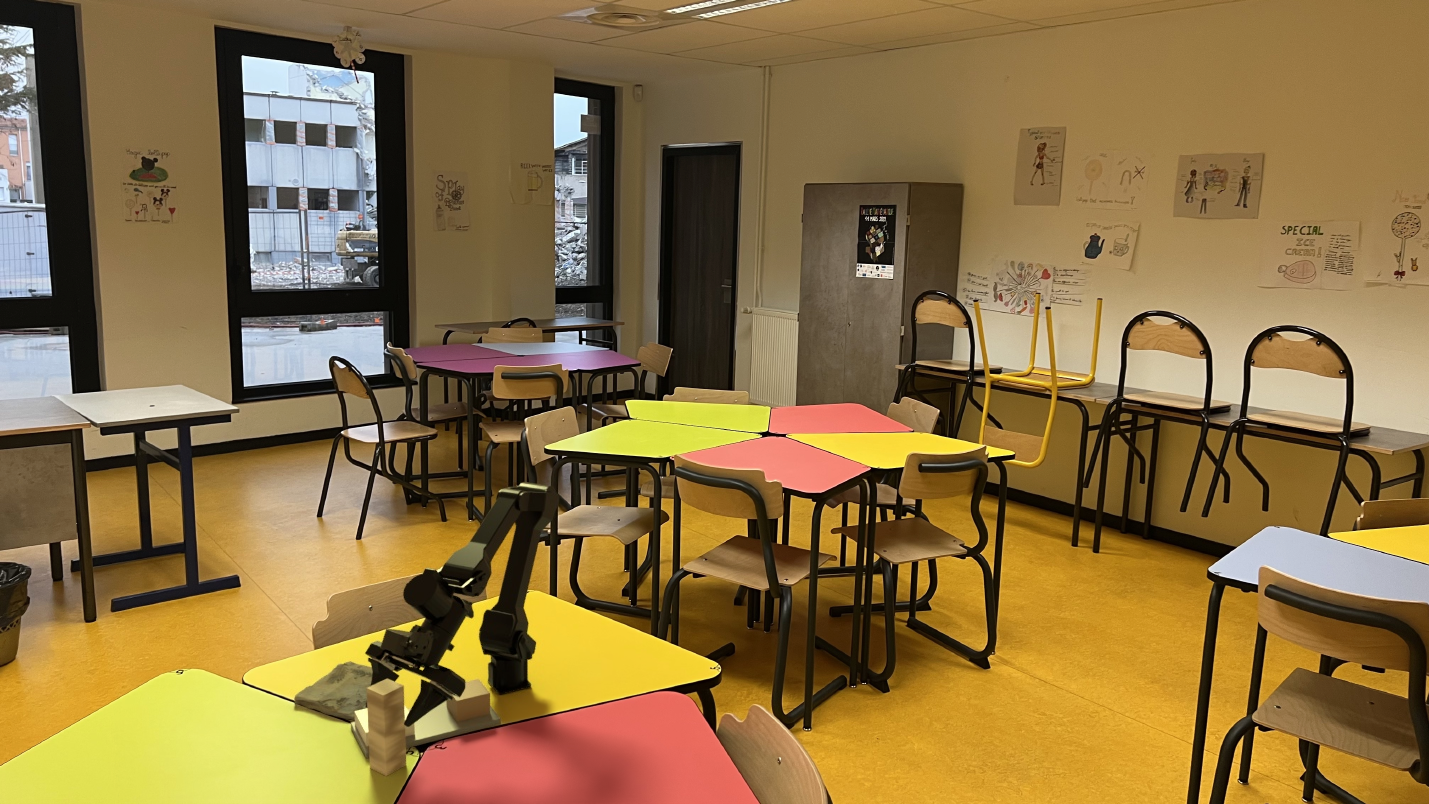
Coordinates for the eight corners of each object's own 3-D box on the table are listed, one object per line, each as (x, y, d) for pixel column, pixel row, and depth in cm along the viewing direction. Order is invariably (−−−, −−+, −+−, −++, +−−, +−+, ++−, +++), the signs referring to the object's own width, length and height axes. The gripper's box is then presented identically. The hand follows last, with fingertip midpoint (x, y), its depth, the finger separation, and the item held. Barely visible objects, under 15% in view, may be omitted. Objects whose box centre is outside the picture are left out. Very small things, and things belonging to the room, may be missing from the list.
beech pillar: (389, 756, 165) (387, 678, 162) (406, 764, 163) (403, 685, 160) (369, 767, 161) (366, 688, 159) (386, 776, 159) (383, 695, 157)
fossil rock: (340, 669, 195) (340, 658, 195) (410, 679, 192) (410, 668, 192) (284, 712, 178) (283, 700, 178) (360, 724, 175) (359, 712, 175)
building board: (479, 696, 185) (479, 671, 184) (500, 723, 176) (500, 697, 175) (350, 727, 173) (349, 701, 172) (366, 758, 164) (365, 730, 163)
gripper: (372, 594, 166) (317, 681, 159) (451, 623, 157) (396, 716, 150) (411, 623, 174) (360, 707, 167) (488, 652, 165) (437, 742, 158)
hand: (386, 717), depth 160 cm, fingers open, 9 cm apart
